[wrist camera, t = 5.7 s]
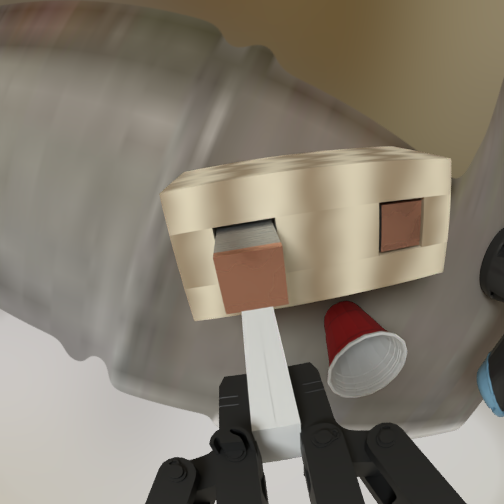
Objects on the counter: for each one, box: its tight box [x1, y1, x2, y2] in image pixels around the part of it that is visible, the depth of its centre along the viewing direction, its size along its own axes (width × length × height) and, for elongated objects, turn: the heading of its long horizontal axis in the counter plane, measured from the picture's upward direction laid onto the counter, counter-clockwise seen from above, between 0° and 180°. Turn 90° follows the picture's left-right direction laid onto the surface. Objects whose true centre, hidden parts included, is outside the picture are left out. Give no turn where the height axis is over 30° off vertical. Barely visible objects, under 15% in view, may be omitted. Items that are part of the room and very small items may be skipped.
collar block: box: [160, 146, 451, 321], centre depth 29 cm, size 26×12×12 cm, turn 99°
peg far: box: [379, 198, 421, 252], centre depth 28 cm, size 4×4×9 cm
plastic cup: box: [324, 301, 407, 398], centre depth 36 cm, size 11×11×12 cm
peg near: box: [213, 218, 289, 314], centre depth 23 cm, size 4×4×9 cm
